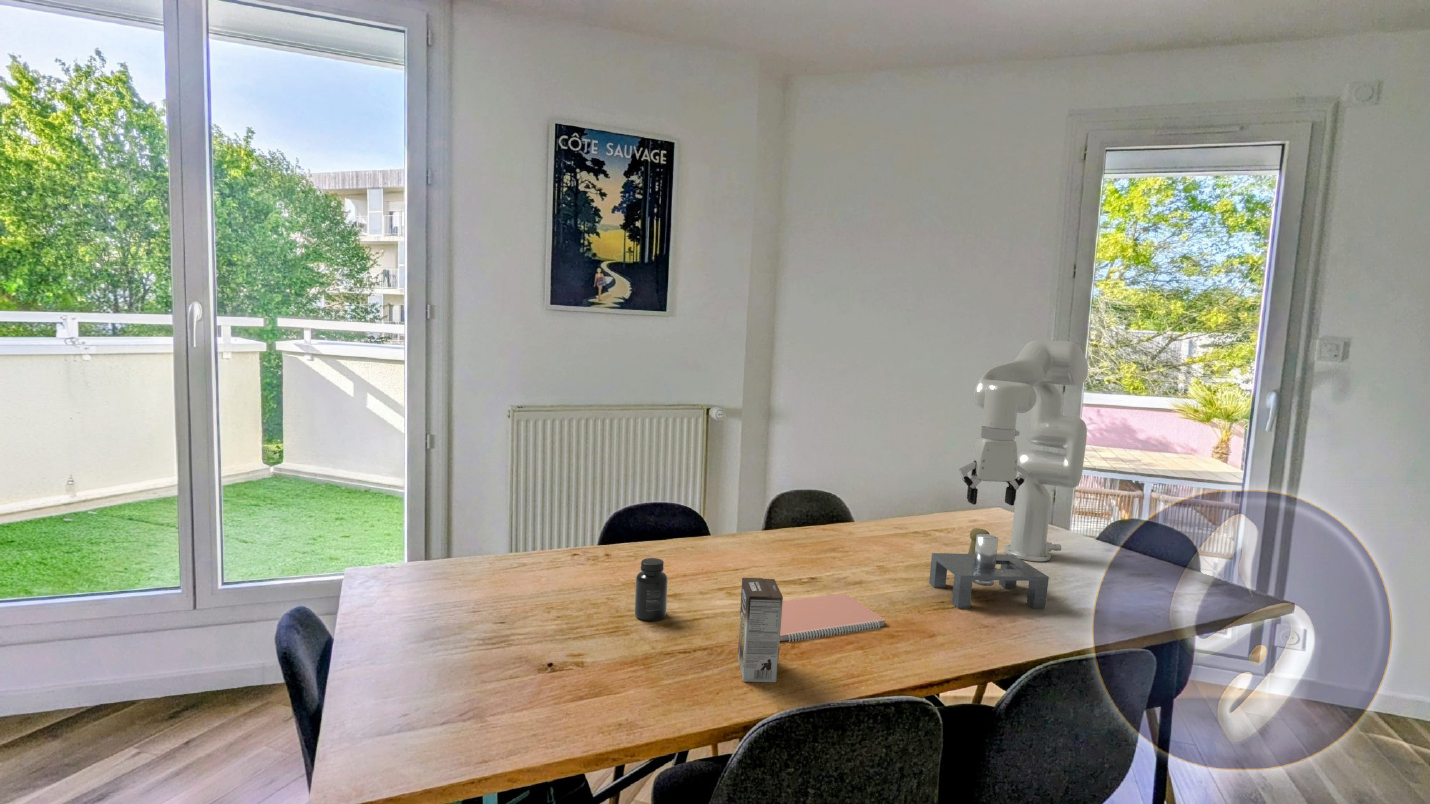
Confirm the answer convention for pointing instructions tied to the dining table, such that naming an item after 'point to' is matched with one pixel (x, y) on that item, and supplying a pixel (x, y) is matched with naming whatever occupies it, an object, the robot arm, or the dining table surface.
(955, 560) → the grey windowed bracket
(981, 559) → the peg
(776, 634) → the coffee box
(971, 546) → the cork
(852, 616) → the notebook
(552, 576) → the dining table surface
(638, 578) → the supplement bottle
